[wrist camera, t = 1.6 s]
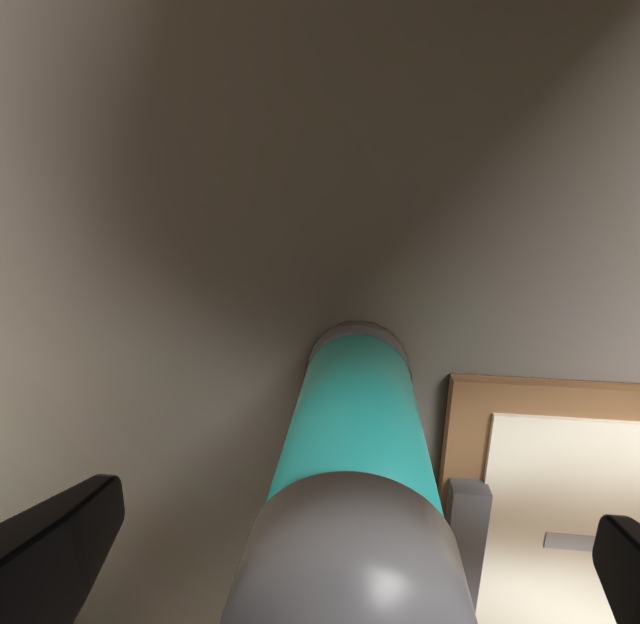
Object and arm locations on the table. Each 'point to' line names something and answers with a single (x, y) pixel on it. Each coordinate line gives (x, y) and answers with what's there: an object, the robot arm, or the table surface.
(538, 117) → the table surface
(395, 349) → the marker
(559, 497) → the clipboard
